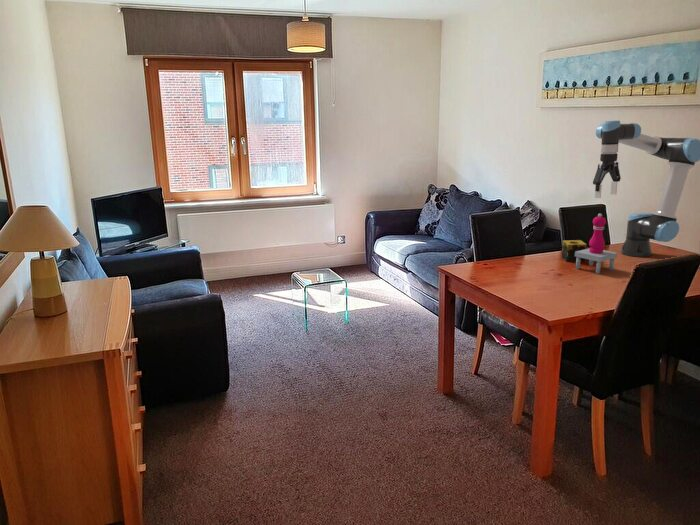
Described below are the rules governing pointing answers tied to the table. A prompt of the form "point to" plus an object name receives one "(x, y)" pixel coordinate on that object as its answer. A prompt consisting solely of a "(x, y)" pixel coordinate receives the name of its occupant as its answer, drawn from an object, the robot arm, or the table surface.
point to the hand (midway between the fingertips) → (605, 196)
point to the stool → (595, 258)
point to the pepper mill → (597, 235)
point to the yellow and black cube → (572, 250)
